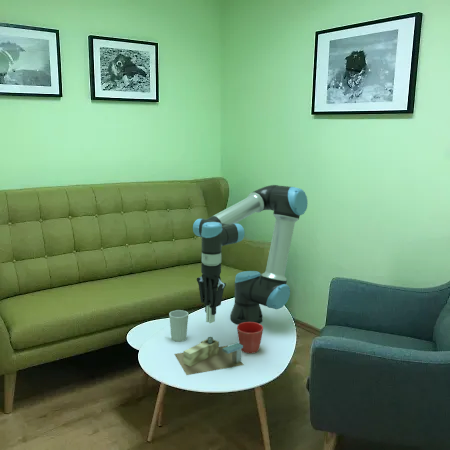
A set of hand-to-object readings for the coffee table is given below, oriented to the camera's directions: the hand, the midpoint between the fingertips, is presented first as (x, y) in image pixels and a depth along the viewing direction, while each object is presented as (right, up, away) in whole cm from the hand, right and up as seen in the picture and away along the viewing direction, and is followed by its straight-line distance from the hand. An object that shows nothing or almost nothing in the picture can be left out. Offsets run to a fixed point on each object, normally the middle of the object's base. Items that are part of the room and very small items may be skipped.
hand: (210, 321), depth 182 cm
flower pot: (+16, -13, +9) cm, 22 cm away
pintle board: (-1, -15, -2) cm, 15 cm away
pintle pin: (0, -14, +3) cm, 14 cm away
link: (-4, -14, -1) cm, 14 cm away
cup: (-14, -11, +16) cm, 24 cm away
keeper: (+8, -15, -5) cm, 18 cm away
